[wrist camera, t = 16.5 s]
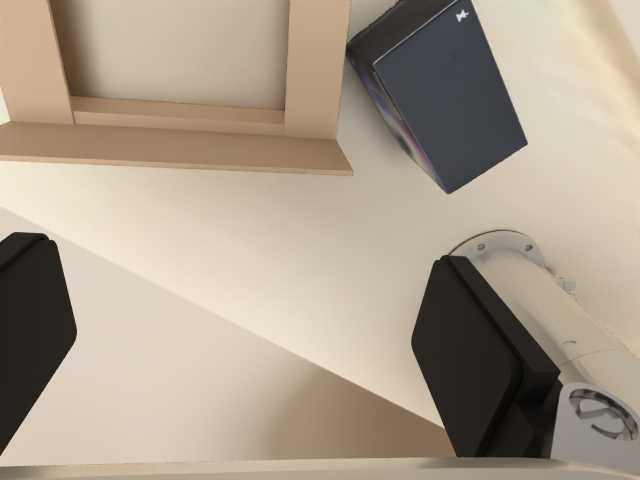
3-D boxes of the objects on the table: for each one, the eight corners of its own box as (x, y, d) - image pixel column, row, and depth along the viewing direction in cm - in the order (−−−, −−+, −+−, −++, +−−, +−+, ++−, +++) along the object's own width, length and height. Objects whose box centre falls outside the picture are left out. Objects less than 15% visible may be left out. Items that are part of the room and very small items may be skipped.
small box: (336, 49, 30) (366, 63, 21) (406, -8, 29) (471, -18, 20) (400, 153, 35) (446, 200, 26) (463, 109, 34) (534, 142, 25)
